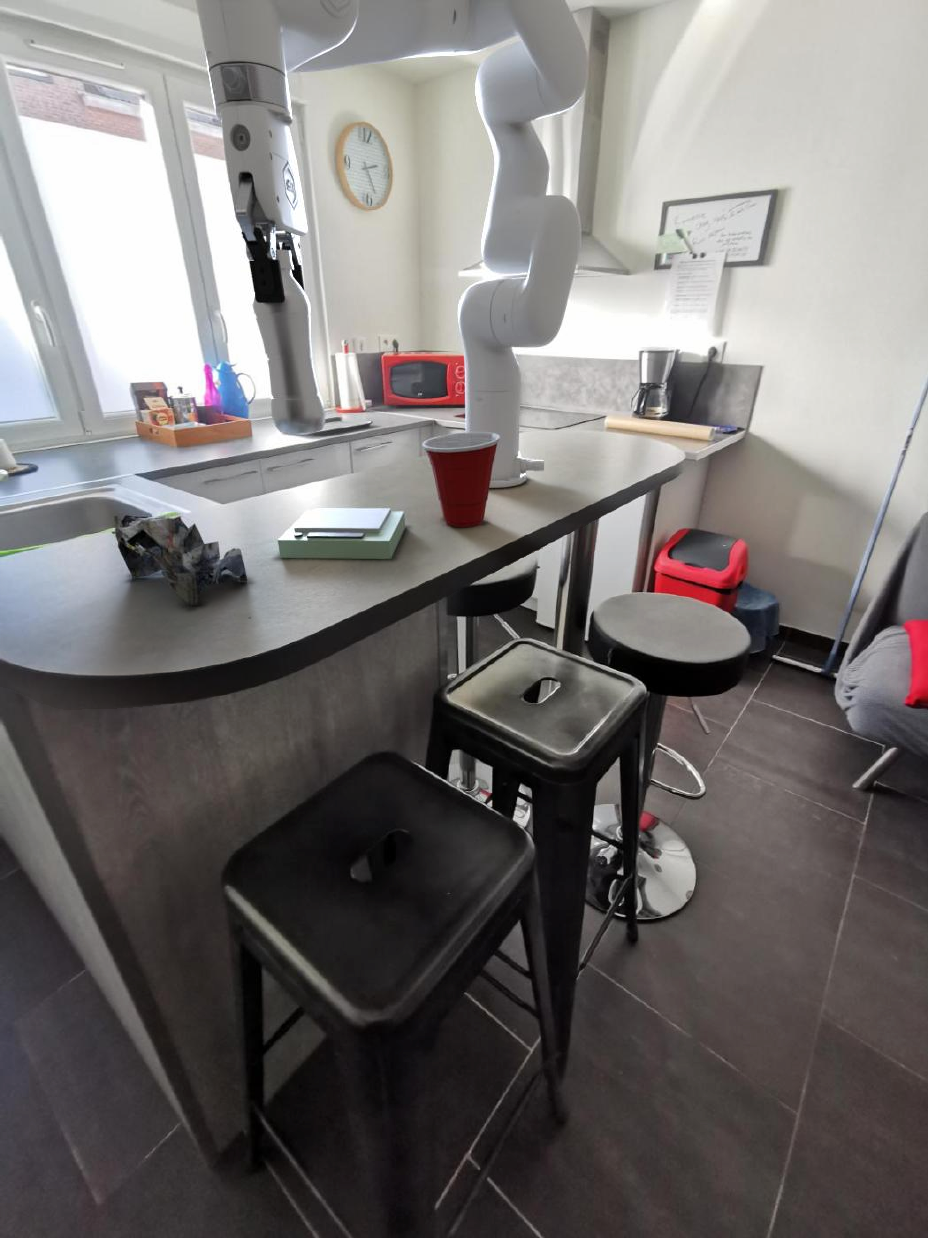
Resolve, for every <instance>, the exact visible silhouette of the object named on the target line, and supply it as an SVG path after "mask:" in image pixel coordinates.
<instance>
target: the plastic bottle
mask: <svg viewBox="0 0 928 1238" xmlns="http://www.w3.org/2000/svg"><path fill="white" fill-rule="evenodd" d="M272 260H279V261H280V267H281V274H282V281H283V288H284V295H285V301H284V302H282V303H258V302H257V301H256V299H255V293H254V292H253V295H252V302H251V303H252V305H251V307H252V309H253V314H254V315H255V321H256V324H257V327H258V330H259V334H260V337H261V339H262V344H263V349H264V353H265V355H266V361H267V365H268V373H269V383H270V392H271V393H270V394H271V397H270V410H271V411H270V412H271V417H272V420H273V423H274V427H276V428H277V430H278V431H279V432H280V433H281V434H286V435H287V434H288V435H291V436H292V435H294V436H299V437H301V436H302V437H303V436H308V435H311V434H313V433H318V432H320V431H322V430H323V429H324V427H325V425H326V409H325V405H324V400H323V398H322V396H321V394H320V390H319V389H320V388H319V384H318V380H317V376H316V375H317V374H316V372H315V366H314V357H313V347H312V346H313V345H312V327H311V326H312V320H311V318H312V317H311V303H310V301H309V298H308V296H307V294H306V292H305V293H304V291H303V289H302V288H301V286H300V285H299V284H298V283H297V281H296V280H295V279H294V277H293V276H292V272H291V270H294V266H293V265H292V258H291V253H290V251H289V250H275V259H272Z"/></svg>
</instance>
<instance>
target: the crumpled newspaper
mask: <svg viewBox="0 0 928 1238" xmlns="http://www.w3.org/2000/svg"><path fill="white" fill-rule="evenodd" d="M113 517H114V531H111V534H112V535H114V537H115V539H116V541H117V548H118V550H119V553H120V555H121V557H122V559H123V561H124V563H125V565H126V567H127V570H128V571H129V573H130V575H131V577H132V578H146V577H148V576H150V575H153V574H156V573H159V572H161V574H162V575H163V579H164V580H165V581H166V583H167V584H168V585H169V586H170V588H171V589H172V590H173V591H174V593H176V594H177V595H178V596H179V597H180V598H181V599H182V601H184V602H185V604H187V605H189V606H191V607H196V606H197V605H198V603H199V599H198V598H199V594H200V591H201V590H203V589H205V588H206V586H210V585H211V584H212V583H213V582H214V581H215V583H216V584H217V585H219V582H218V580H220V578H221V577H222V573H223V572H225V571H226V570H228V571H229V572H231V573H232V574H233V575H234V576H236V577H239V579H238V583H241V582H246V583H248V578H247V577H248V576H247V571H246V566H245V562H244V557H243V554H242V550H241V548H236V547H232V548H231V549H229V550H228V551H226V552H225V554H224V555H223V557H222V558H221V555H220V546H219V541H214V542H207V543H205V542H204V540H203V538H202V535H201V534H200V531H199V529H198V527H197V525H196V523H194V522H193V521H192V522H193V524H192V525H190V527H188V526H187V525H186V524H185V522H184V521H183V520H182V518H184V519H187V520H188V518H186V517H185V516H183V515H180V514H179V516H175V517H166V516H165V515H163V516H162V515H161V516H133V515H127V514H125V515H124V517H123V518H122V519H121V518H120V516H118V515H116V516H115V515H114V516H113Z"/></svg>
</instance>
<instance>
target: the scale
mask: <svg viewBox="0 0 928 1238" xmlns="http://www.w3.org/2000/svg"><path fill="white" fill-rule="evenodd" d="M405 517H406V516H405V511H403V510H402V511H400V510H399V511H397V510H396V511H393V510H392V509H391V508H389V507H313V508H312V509H311V510H306V511H305V512H304V513H303V514H302V515H301V516H300V517H299V518H298V519H297V520H296V521H295V522H294V523H293V524H292V525H291V526H290V527H289V528H288V529H287V530H286V531H285V532H284V533H283V534H282V535H281V536H280V537H279V538H278V539H277V544H278V551H279V557H280V559H341V560H342V559H344V560H345V559H346V560H347V559H349V560H350V559H351V560H352V559H353V560H391V559H392V558H393V555H394V553H395V550H396V549H397V546H398V545H399V542H400V540H401V537H402V536H403V533H404V531H405V529H406V520H405Z"/></svg>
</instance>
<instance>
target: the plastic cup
mask: <svg viewBox="0 0 928 1238" xmlns="http://www.w3.org/2000/svg"><path fill="white" fill-rule="evenodd" d="M499 439H500V435H498V434H495V433H489V432H466V431H465V432H456V433H455V432H454V433H450V434H443V435H439V436H435V437H431V438H429V439H426V440H424V441H423V442H422V444H421V446H422V448H423V449H424V450H425V452H426V454H427V457H428V459H429V463H430V465H431V469H432V474H433V478H434V482H435V487H436V488H435V489H436V492H437V497H438V500H439V503H440V508H441V515H442V519H443V521H444V523H445V524H446V525H448V526H451V527H454V528H455V527H456V528H469V527H470V528H471V527H476V526H479V525H481V524H482V523H483V522H484V518H485V514H486V507H487V501H488V499H489V493H490V488H489V487H490V480H491V474H492V467H493V462H494V457H495V452H496V447H497V443H498V442H499Z"/></svg>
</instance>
